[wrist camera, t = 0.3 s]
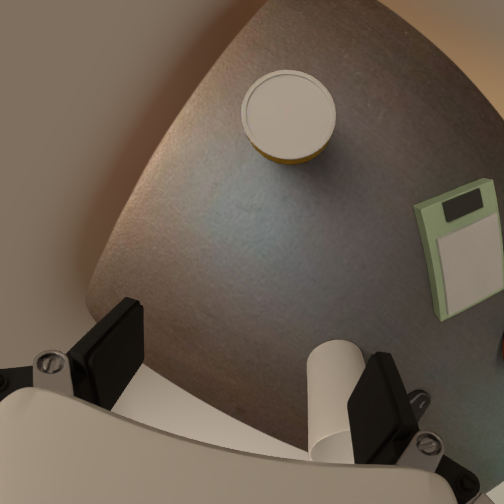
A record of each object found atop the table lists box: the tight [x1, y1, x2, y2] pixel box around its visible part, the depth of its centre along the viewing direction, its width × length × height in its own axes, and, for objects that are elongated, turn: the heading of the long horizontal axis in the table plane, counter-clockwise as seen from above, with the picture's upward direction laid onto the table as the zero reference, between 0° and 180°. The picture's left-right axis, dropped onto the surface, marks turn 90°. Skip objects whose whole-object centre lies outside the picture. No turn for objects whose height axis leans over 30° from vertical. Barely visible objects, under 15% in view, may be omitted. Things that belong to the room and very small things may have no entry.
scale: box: [413, 178, 504, 321], centre depth 31 cm, size 16×12×3 cm
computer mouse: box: [408, 390, 430, 423], centre depth 40 cm, size 7×12×4 cm, turn 144°
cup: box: [307, 340, 366, 464], centre depth 32 cm, size 8×8×16 cm
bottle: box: [241, 70, 336, 165], centre depth 24 cm, size 7×7×15 cm
